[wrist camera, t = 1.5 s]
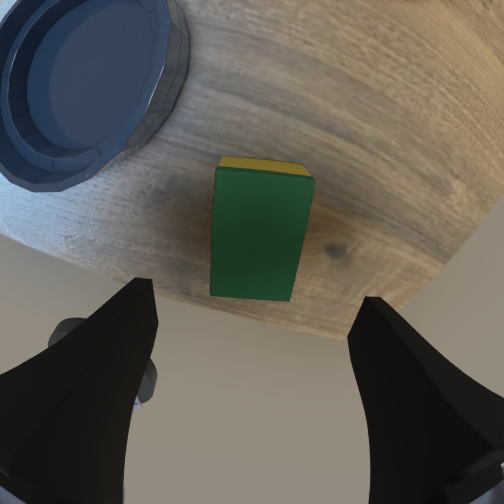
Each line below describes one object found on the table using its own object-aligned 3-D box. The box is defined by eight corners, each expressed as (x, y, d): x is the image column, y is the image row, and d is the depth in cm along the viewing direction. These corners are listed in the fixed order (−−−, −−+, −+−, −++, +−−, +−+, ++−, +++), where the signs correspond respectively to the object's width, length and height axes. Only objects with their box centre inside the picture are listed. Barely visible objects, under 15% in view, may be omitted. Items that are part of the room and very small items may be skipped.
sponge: (283, 268, 19) (289, 302, 15) (215, 262, 18) (209, 296, 15) (302, 164, 15) (316, 180, 12) (222, 155, 15) (215, 169, 12)
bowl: (182, 170, 15) (159, 194, 11) (22, 173, 14) (-18, 195, 10) (205, -32, 9) (192, -68, 5) (32, 11, 8) (-8, 4, 4)
